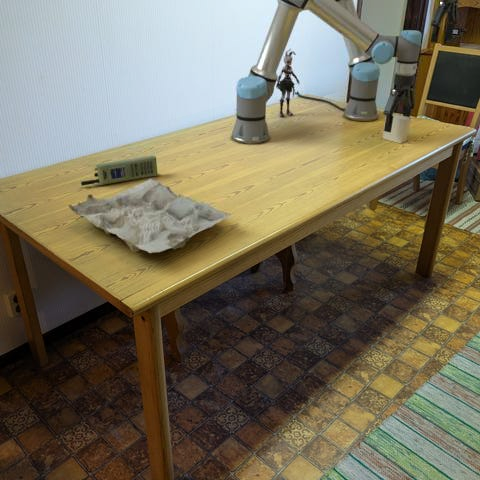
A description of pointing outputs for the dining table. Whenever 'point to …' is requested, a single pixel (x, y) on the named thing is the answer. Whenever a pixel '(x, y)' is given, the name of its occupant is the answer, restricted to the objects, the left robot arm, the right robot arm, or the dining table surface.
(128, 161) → the handheld radio
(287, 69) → the figurine
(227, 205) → the dining table surface
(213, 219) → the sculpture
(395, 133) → the brick
